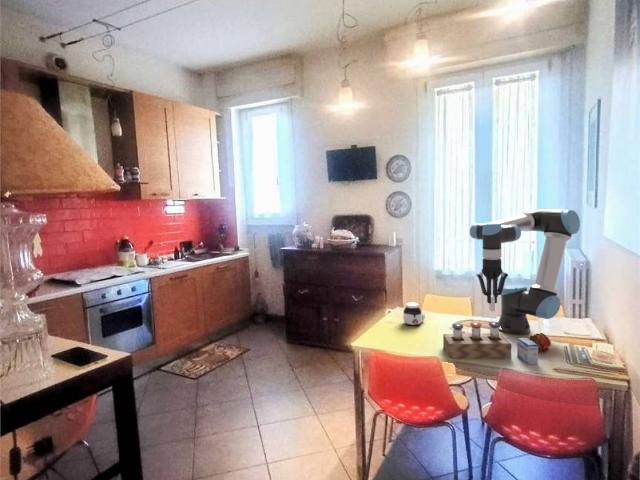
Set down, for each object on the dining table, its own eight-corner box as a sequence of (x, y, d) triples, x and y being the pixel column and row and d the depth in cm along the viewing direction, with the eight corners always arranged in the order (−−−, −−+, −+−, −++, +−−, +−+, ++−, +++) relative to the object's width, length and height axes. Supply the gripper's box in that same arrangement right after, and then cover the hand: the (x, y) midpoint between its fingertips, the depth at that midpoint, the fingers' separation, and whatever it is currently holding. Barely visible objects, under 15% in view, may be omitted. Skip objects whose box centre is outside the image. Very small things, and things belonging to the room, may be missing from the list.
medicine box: (516, 357, 167) (517, 338, 166) (526, 356, 168) (526, 337, 167) (528, 364, 160) (528, 345, 159) (538, 364, 160) (538, 344, 159)
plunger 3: (497, 340, 174) (497, 321, 172) (501, 344, 169) (501, 324, 168) (487, 340, 174) (487, 321, 173) (490, 344, 169) (490, 325, 168)
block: (500, 347, 178) (500, 333, 177) (511, 358, 166) (511, 343, 165) (443, 348, 180) (443, 334, 179) (449, 359, 168) (449, 344, 167)
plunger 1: (461, 342, 175) (461, 323, 174) (464, 346, 171) (464, 326, 169) (451, 342, 176) (451, 323, 174) (453, 346, 171) (453, 326, 170)
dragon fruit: (534, 358, 169) (540, 352, 178) (552, 350, 165) (557, 345, 174) (522, 340, 172) (528, 335, 181) (540, 332, 168) (545, 327, 177)
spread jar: (403, 326, 212) (403, 305, 210) (403, 319, 223) (403, 300, 221) (425, 327, 209) (425, 306, 208) (424, 320, 220) (424, 300, 219)
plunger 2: (479, 340, 174) (479, 321, 173) (482, 344, 170) (483, 325, 169) (469, 340, 175) (469, 321, 174) (472, 344, 170) (472, 325, 169)
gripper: (504, 256, 170) (504, 307, 173) (473, 257, 171) (474, 308, 174) (510, 259, 163) (510, 312, 166) (479, 260, 164) (479, 313, 167)
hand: (492, 310), depth 170 cm, fingers closed
